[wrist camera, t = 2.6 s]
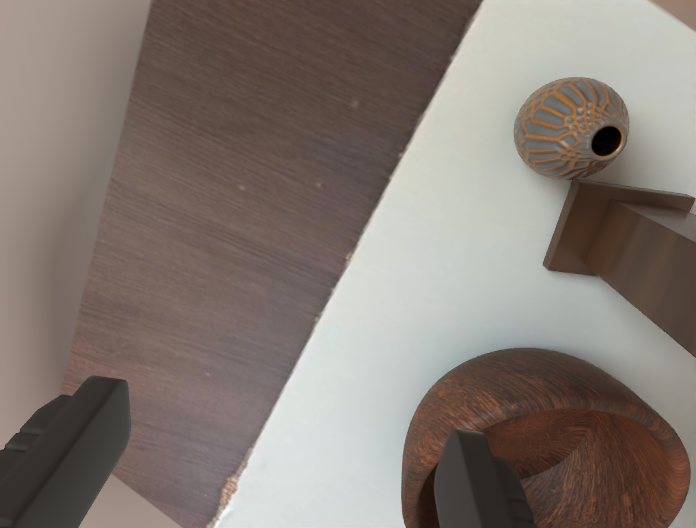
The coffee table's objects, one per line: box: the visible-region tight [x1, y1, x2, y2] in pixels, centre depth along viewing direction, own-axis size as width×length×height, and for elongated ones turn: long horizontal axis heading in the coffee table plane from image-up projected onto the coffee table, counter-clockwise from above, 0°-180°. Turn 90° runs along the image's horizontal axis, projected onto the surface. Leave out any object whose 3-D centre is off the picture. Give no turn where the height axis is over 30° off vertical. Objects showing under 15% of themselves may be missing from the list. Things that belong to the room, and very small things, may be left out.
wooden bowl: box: [401, 348, 691, 528], centre depth 43 cm, size 25×25×10 cm
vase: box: [514, 77, 629, 180], centre depth 30 cm, size 7×7×9 cm
